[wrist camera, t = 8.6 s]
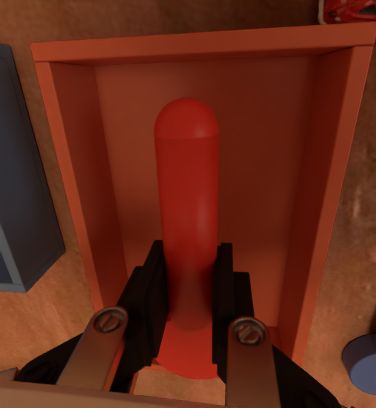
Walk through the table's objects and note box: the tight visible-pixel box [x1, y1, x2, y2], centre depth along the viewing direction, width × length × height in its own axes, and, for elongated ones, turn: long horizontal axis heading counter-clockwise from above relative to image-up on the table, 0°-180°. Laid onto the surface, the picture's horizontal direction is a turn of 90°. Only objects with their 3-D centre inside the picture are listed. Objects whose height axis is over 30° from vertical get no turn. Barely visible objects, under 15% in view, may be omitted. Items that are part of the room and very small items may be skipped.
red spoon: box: [154, 98, 219, 379], centre depth 11 cm, size 14×4×2 cm, turn 2°
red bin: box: [30, 21, 376, 378], centre depth 14 cm, size 17×11×4 cm, turn 2°
